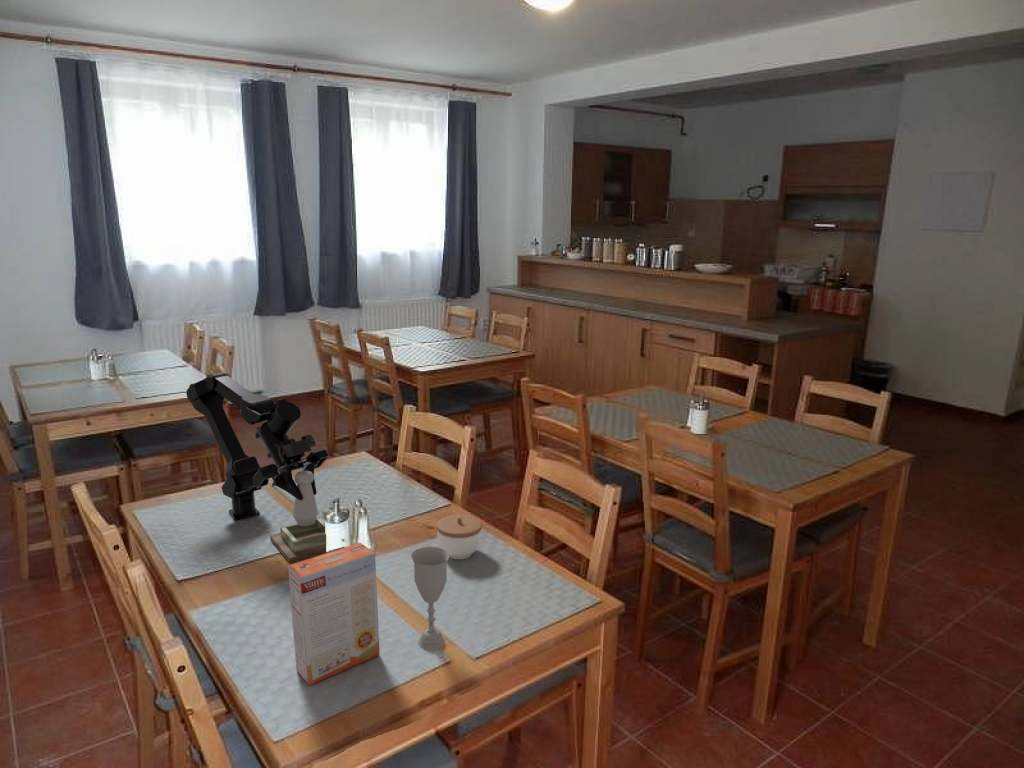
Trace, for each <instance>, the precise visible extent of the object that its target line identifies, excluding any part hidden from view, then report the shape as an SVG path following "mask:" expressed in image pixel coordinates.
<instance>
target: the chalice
mask: <svg viewBox="0 0 1024 768" xmlns="http://www.w3.org/2000/svg"><path fill="white" fill-rule="evenodd" d="M410 556H411V560H412V561H413V570H414V571H413V572H414V573H413V574H414V576H413V577H414V578H413V580H414V582H415V586H416V588H417V590H418V592H419V594H420V596H421V598H422V600H423V601H424V602H425V603H427V604H428V607H427V609H426V612H427V614H428V616H427V618H426V621H427V622H428V626H427V627H426V628H424V629H423V630H422V632H421V633H420V636H419V638H418V641H417V643H418V644H417V645H418V646H419V647H420V648H421V649H422V650H426V649H428V650H427V651H433V650H432V649H434V650H438V649H439V648H441V647H443V646H444V645H445V642H446V640H445V638H444V636H443V634H442V632H441V630H440V629H439V628H438V627H436V626H434V624H435V621H436V620H437V618H436V617H435V616H434V614H435V612H436V608H435V607H434V604H435V603H436V602H438V601H439V598H440V597H441V595H442V593H443V591H444V589H445V587H446V583H447V580H448V579H447V578H448V572H447V563H448V560H450V557H449V553H448V552H447V551H446V550H444V549H441V547H436V546H424V547H420V548H417V549H416V550H413V552H412V553H411V555H410Z"/></svg>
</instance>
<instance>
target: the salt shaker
mask: <svg viewBox="0 0 1024 768" xmlns="http://www.w3.org/2000/svg"><path fill="white" fill-rule="evenodd" d="M313 479H315V475H314V476H313V473H312V472H310V471H300V470H299V471H298V472H296V473H295V475H294V482H295V483H296V485H297V487H298V489H299V490H300V492H301V494H302V496H303V499H302V500H301V501H300V500H298V499H297V498H295V497H294V498H295V500H294V506H293V507H294V508H293V513H292V515H293V518H294V520H295V523H297V524H299V525H300V526H310V525H312V524H314V523H315V521H316V518H318V516H319V510H318V506H317V502H316V498H315V497H316V496H315V495H314V493H313V489H312V485H311V482H313Z"/></svg>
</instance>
